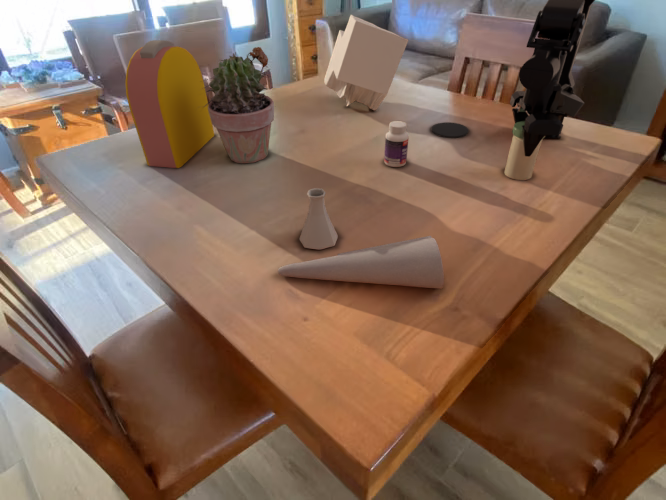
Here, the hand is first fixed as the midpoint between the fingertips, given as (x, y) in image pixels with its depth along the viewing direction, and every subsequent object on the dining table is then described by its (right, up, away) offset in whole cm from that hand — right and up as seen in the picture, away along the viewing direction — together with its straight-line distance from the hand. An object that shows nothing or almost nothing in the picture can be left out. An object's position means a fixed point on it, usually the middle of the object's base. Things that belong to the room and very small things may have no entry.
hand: (524, 150), depth 94 cm
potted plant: (-65, +2, +15) cm, 66 cm away
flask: (-45, -20, -15) cm, 52 cm away
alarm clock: (-82, +4, +19) cm, 85 cm away
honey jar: (0, -5, +4) cm, 6 cm away
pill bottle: (-27, -1, +10) cm, 29 cm away
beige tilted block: (-33, +25, +43) cm, 60 cm away
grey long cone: (-38, -28, -25) cm, 54 cm away
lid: (0, +4, -3) cm, 5 cm away
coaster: (-10, +11, +24) cm, 29 cm away
